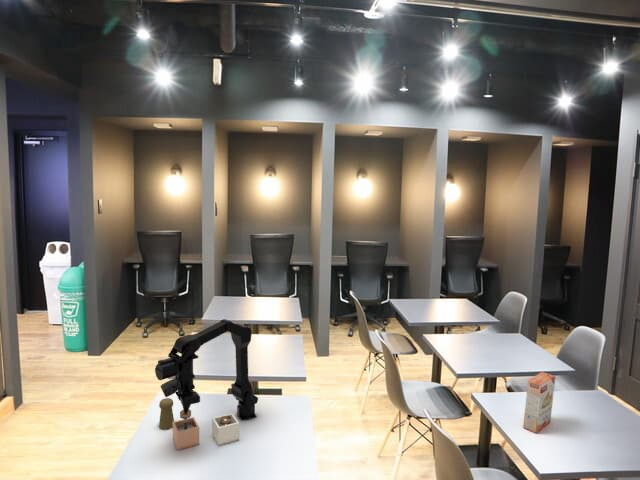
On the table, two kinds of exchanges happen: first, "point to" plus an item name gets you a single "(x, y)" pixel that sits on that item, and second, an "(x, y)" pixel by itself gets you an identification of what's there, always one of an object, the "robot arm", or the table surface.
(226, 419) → the round copper knob
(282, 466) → the table surface
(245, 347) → the robot arm
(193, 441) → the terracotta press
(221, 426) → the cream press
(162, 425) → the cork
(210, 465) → the table surface
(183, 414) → the brown and grey plunger
